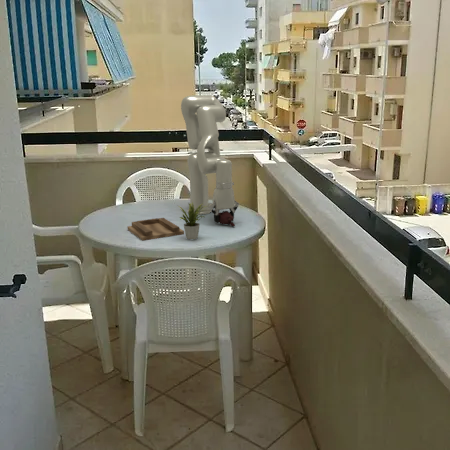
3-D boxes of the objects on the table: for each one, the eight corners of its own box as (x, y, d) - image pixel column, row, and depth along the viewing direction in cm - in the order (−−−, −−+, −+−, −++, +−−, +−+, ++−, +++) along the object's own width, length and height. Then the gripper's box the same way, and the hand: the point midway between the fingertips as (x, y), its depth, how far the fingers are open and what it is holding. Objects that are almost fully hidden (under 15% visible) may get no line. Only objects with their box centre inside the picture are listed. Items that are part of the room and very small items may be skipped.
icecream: (208, 209, 248) (226, 219, 237) (221, 204, 252) (238, 213, 240) (211, 222, 252) (228, 231, 240) (223, 216, 255) (240, 225, 243)
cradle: (167, 223, 248) (166, 216, 247) (184, 234, 231) (183, 226, 230) (127, 229, 238) (127, 222, 237) (142, 240, 222) (141, 233, 221)
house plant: (216, 239, 223) (216, 203, 218) (188, 245, 215) (187, 207, 211) (199, 232, 234) (199, 197, 230) (173, 236, 227) (171, 201, 222)
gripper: (235, 182, 249) (235, 217, 254) (204, 186, 241) (204, 222, 246) (243, 185, 243) (243, 220, 248) (211, 188, 235) (211, 225, 239)
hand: (224, 221), depth 247 cm, fingers closed on icecream, 7 cm apart
